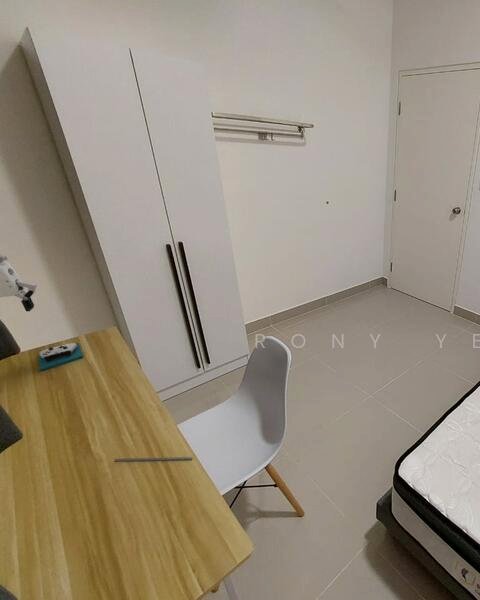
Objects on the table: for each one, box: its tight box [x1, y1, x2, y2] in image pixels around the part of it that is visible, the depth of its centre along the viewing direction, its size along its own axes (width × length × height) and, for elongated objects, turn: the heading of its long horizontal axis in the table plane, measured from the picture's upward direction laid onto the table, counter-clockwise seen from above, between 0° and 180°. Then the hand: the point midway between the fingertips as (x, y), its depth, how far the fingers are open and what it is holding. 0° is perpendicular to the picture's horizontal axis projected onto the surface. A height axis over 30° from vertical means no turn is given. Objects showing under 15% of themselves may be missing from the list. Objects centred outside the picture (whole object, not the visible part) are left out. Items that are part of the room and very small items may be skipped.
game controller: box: [38, 342, 77, 362], centre depth 117 cm, size 10×5×6 cm
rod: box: [114, 456, 193, 463], centre depth 85 cm, size 1×19×1 cm, turn 94°
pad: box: [36, 342, 84, 372], centre depth 118 cm, size 11×11×1 cm
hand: (9, 311), depth 103 cm, fingers open, 9 cm apart
